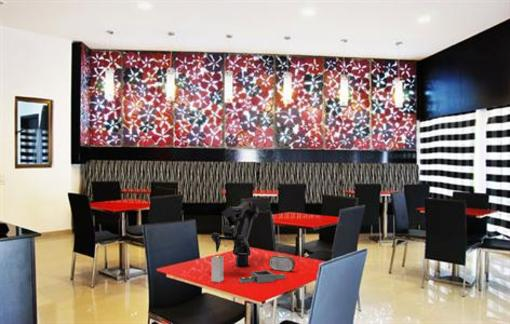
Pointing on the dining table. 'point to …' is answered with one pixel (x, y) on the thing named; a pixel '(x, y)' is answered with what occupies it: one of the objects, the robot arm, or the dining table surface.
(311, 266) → the dining table surface
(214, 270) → the grey upright column
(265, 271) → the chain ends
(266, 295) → the dining table surface
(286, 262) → the tin
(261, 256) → the dining table surface
